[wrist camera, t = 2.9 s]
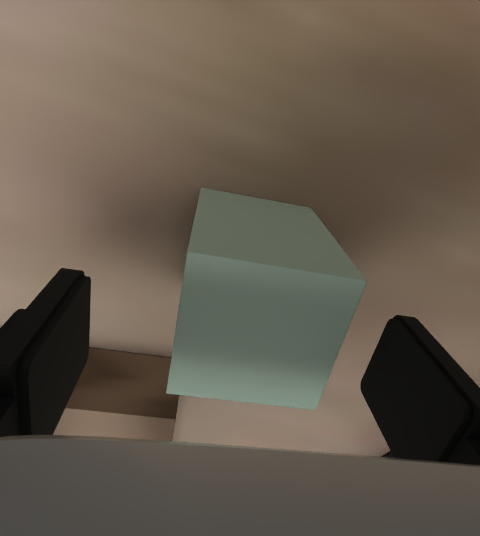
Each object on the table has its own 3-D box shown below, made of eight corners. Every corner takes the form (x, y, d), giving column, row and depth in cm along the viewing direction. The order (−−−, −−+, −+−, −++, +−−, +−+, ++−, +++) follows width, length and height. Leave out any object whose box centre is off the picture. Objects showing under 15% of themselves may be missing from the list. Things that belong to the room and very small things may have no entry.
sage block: (311, 207, 16) (367, 281, 10) (283, 301, 18) (315, 410, 12) (201, 187, 16) (187, 251, 9) (185, 286, 18) (166, 393, 11)
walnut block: (183, 359, 20) (175, 419, 16) (161, 494, 25) (150, 563, 21) (-55, 329, 18) (-123, 388, 15) (-27, 480, 23) (-72, 551, 20)
